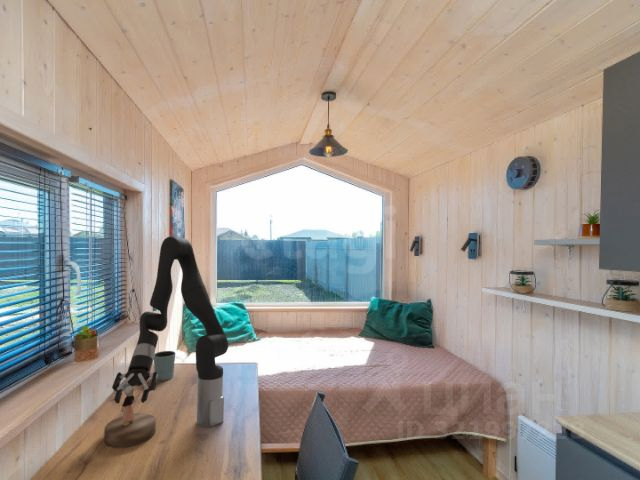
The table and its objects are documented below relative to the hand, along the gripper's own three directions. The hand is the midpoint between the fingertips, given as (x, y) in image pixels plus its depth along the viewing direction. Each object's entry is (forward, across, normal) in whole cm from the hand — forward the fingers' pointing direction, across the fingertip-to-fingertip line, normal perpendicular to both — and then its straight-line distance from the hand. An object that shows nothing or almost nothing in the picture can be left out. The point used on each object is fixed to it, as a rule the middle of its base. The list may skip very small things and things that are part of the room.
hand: (129, 402), depth 128 cm
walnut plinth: (+8, 0, +10) cm, 12 cm away
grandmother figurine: (+4, -1, +8) cm, 9 cm away
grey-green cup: (-32, -5, +49) cm, 59 cm away
